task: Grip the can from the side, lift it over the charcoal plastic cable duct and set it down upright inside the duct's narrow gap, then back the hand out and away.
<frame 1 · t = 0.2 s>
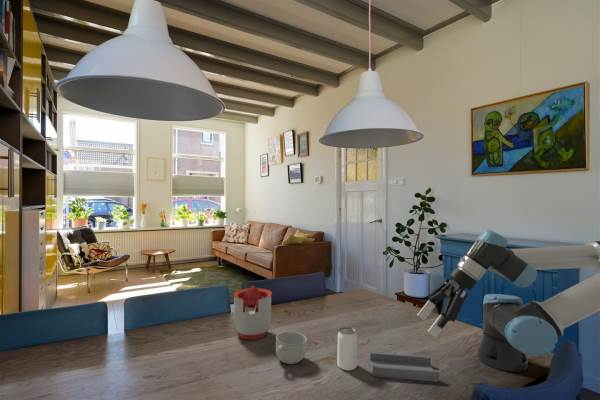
hand: (425, 325, 106), 16 cm above the table, fingers open, 13 cm apart
cable duct: (402, 370, 108), on the table
can: (346, 366, 110), on the table
teacup: (288, 362, 113), on the table
citrus juicer: (252, 335, 134), on the table
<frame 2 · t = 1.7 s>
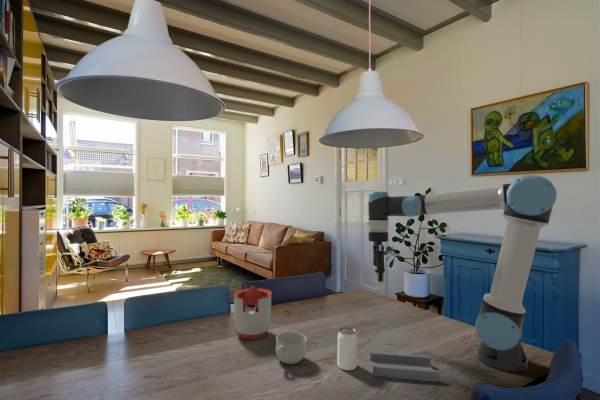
hand: (378, 286, 127), 22 cm above the table, fingers open, 13 cm apart
nothing on the table moved.
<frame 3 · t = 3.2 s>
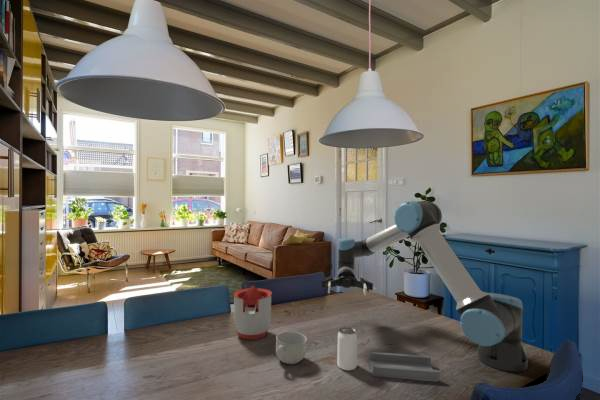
hand: (347, 290, 122), 22 cm above the table, fingers open, 13 cm apart
nothing on the table moved.
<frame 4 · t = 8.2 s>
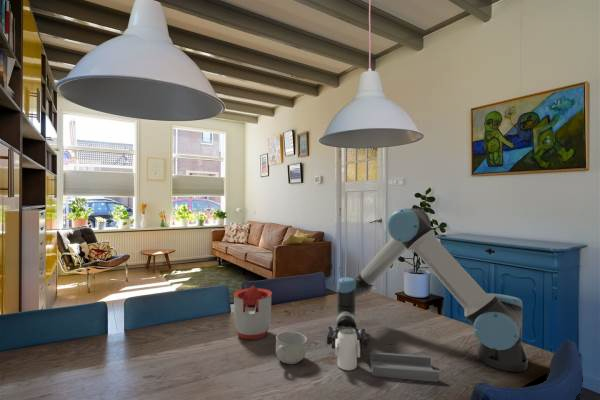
hand: (347, 352, 105), 7 cm above the table, fingers closed on can, 6 cm apart
can: (346, 366, 110), on the table, touching gripper
everything else where it was.
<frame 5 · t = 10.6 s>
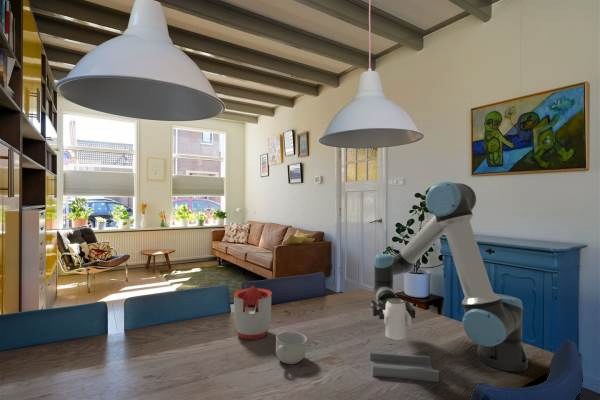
hand: (398, 321, 103), 18 cm above the table, fingers closed on can, 6 cm apart
can: (395, 337, 108), point 11 cm above the table, touching gripper
everything else where it was.
when the fingers open (9 cm above the table, at t = 12.9 s): can drops 1 cm, resting on cable duct.
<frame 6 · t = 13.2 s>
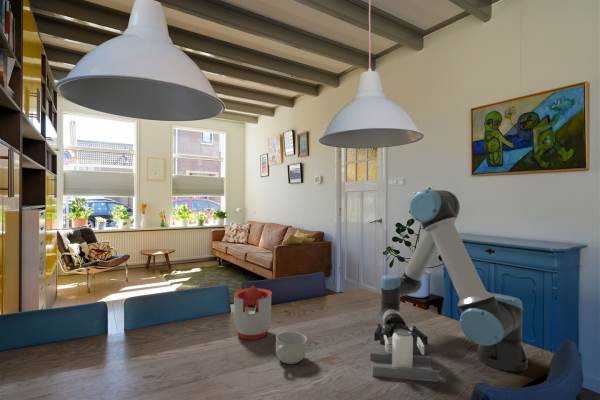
hand: (405, 349, 104), 9 cm above the table, fingers open, 10 cm apart
can: (402, 369, 108), resting on cable duct
everything else where it was.
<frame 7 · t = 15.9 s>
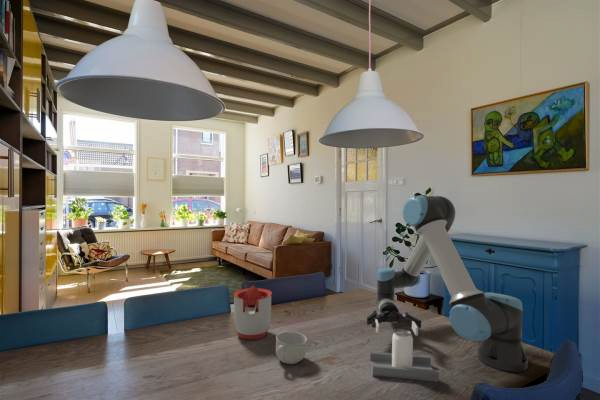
hand: (397, 330, 118), 9 cm above the table, fingers open, 13 cm apart
nothing on the table moved.
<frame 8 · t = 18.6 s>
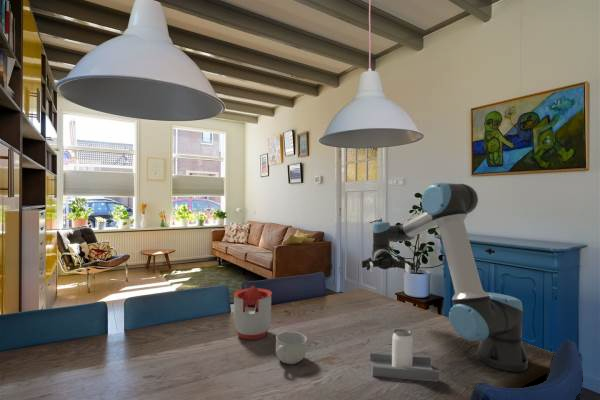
hand: (390, 269, 122), 30 cm above the table, fingers open, 13 cm apart
nothing on the table moved.
at the end: can inside the target area on the cable duct (0.1 cm from its centre), point 0.3 cm above the cable duct's base; can tilted 0°; the gripper is holding nothing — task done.
